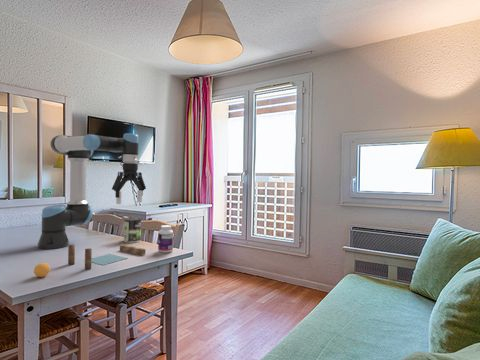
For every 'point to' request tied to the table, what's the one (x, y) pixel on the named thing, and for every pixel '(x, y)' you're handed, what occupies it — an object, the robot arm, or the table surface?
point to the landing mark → (107, 259)
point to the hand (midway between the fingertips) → (129, 203)
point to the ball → (41, 270)
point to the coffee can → (132, 230)
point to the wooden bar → (132, 249)
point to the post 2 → (88, 258)
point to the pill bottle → (165, 239)
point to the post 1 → (71, 254)
